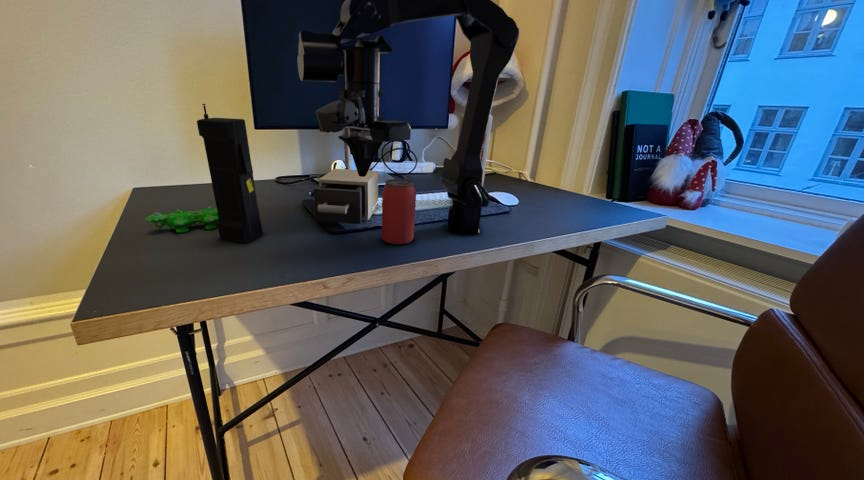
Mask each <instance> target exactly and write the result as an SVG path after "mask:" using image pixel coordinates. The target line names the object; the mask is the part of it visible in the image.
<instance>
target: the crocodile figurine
mask: <svg viewBox="0 0 864 480" xmlns="http://www.w3.org/2000/svg"><path fill="white" fill-rule="evenodd" d="M144 220H145V221H147V222H149V223H152V225H154V226H155V227H156V228H155V230H156V231H160V230H161V229H162V228H163V227H164V226H167V227H168V228H171V229H172V230H173V231H174V230H175V232H176V233H177V234H182V233H183V234H184V233H186V232H188V231H190V229H189V227H194V226H197V225H202V226H204V229H205V230H213V229H217V228H218V226H217V224H218V221H219V218H218V212H217V207H216V206H215V207H214V208H212V206H210V205H209V206H208V207H207V208H205V209H199V210H193V211H191V210H188V211H181V210H179V209H176V210H175V212H172V211H171V212H170V213H167V214H161V213H160V212H158V211H157V212H154V213H153V214H150V215H148V216H146V217H145V218H144Z"/></svg>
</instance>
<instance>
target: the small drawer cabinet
mask: <svg viewBox="0 0 864 480" xmlns="http://www.w3.org/2000/svg"><path fill="white" fill-rule="evenodd" d="M326 183H333V184H349V185H365V213H364V214H363V215H362V221H366V222H367V221H369V220H370V219H371V217H372V216H373V214H374V212H375V211H376V210H377V208H378V207H379V170H368V172H367V175H366V176H365V177H360V176H359V175H358V172H357V169H349V168H348V169H347V168H333V169H332V170H330V171H329V172H328V173H326V174H325V175H323V176H321V177H320V178H318V188H321V186H323V185H324V184H326ZM377 201H378V203H377ZM376 203H377V204H376ZM375 204H376V206H375ZM374 206H375V207H374ZM373 207H374V209H373ZM372 209H373V210H372ZM371 211H372V212H371Z"/></svg>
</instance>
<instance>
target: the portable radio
mask: <svg viewBox="0 0 864 480" xmlns="http://www.w3.org/2000/svg"><path fill="white" fill-rule="evenodd" d="M201 105H202V106H203V107H202V108H203V111H204V112H203V113H204V114H203V118H201V119H198V120H196V125H197V130H198V135H199V137H201V138H202V139H203V145H204V150H205V154H206V160H207V165H208V170H209V176H210V180H211V185H212V191H213V197H214V202H215V207H217V212H218V218H219V221H218V223H216V226H217V231H218V234H219V239H221V240H224V241H228V242H229V241H230V242H236V243H241V244H245V243H249V242H250V241H253V240H254V239H256V238H259V237H260V236H262V235H263V234H264V232H263V231H264V230H263V226H262V225H263V224H262V220H261V214H260V211H259V210H260V209H259V203H258V197H257V191H256V186H255V178H254V169H253V165H252V159H251V152H250V145H249V140H248V138H249V137H248V131H247V125H246V120H245V119H244V118H230V117H229V118H228V117H209V114H208V113H207V109H206V105H207V104H206V103H202V104H201Z"/></svg>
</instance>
